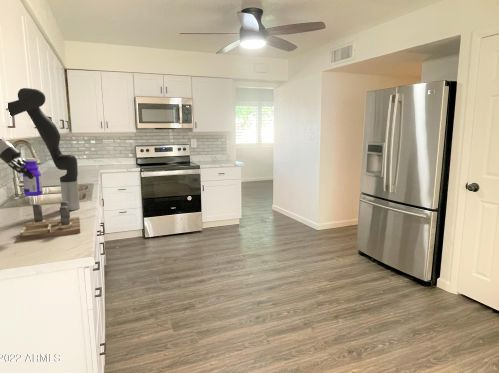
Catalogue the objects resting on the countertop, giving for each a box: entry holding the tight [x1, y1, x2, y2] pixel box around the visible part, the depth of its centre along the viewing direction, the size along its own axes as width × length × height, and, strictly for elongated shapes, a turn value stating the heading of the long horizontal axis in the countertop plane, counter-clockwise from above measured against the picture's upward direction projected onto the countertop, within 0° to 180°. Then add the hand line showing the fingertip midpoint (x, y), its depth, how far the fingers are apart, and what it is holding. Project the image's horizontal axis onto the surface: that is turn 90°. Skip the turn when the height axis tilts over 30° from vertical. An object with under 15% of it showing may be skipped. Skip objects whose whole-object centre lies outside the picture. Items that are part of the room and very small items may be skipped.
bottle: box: [22, 157, 43, 197], centre depth 158 cm, size 7×6×17 cm
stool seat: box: [19, 201, 81, 241], centre depth 165 cm, size 24×24×12 cm
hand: (36, 176), depth 158 cm, fingers closed on bottle, 5 cm apart
